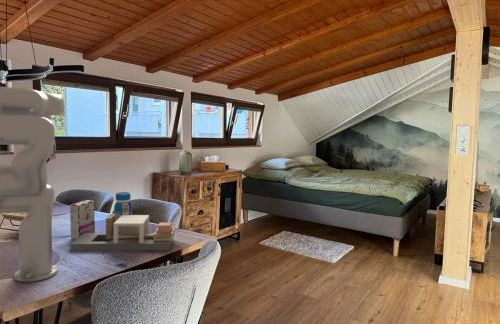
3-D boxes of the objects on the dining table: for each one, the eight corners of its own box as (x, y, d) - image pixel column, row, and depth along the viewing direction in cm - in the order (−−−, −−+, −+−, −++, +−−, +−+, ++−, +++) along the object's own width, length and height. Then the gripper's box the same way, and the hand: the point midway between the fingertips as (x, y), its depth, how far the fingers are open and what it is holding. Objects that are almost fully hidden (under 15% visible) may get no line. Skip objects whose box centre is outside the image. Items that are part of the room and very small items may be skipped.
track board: (169, 250, 148) (169, 223, 147) (70, 251, 143) (70, 223, 142) (173, 238, 163) (173, 214, 162) (84, 239, 159) (84, 214, 158)
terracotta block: (169, 236, 153) (169, 225, 152) (157, 236, 152) (158, 225, 152) (170, 233, 158) (170, 222, 157) (159, 233, 157) (159, 222, 157)
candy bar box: (86, 233, 168) (85, 199, 167) (95, 233, 167) (95, 200, 166) (69, 239, 157) (69, 204, 156) (79, 240, 156) (79, 204, 155)
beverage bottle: (110, 235, 165) (110, 194, 164) (118, 230, 174) (118, 191, 172) (128, 236, 165) (128, 195, 163) (134, 231, 173) (134, 192, 172)
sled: (172, 240, 150) (172, 219, 150) (105, 240, 147) (105, 218, 146) (174, 233, 160) (175, 213, 160) (111, 234, 157) (111, 213, 156)
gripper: (14, 126, 131) (15, 174, 132) (56, 128, 133) (56, 175, 134) (25, 127, 138) (25, 172, 140) (64, 128, 140) (64, 173, 142)
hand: (41, 173), depth 137 cm, fingers closed
